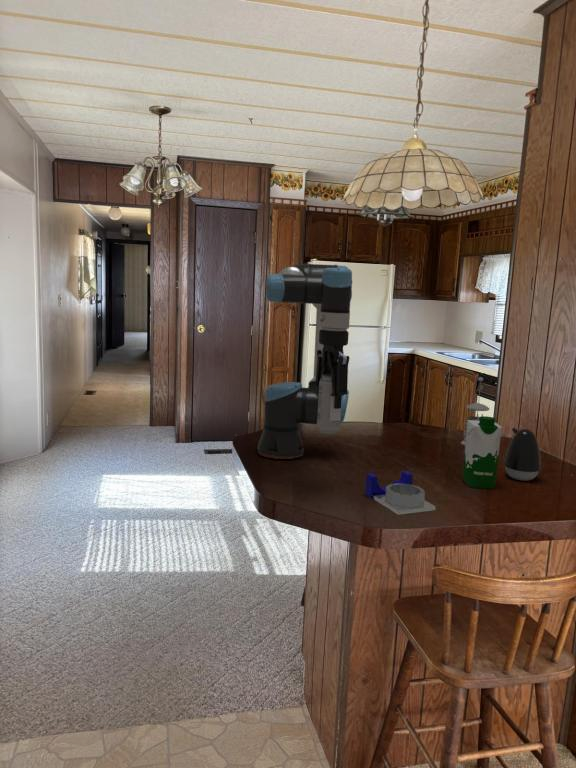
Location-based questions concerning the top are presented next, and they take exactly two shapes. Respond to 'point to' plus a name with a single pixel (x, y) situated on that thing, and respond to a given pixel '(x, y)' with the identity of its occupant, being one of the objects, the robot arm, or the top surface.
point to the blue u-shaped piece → (375, 489)
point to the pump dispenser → (523, 456)
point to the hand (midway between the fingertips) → (328, 417)
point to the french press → (477, 408)
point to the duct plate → (404, 510)
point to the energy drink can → (326, 407)
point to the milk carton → (481, 452)
